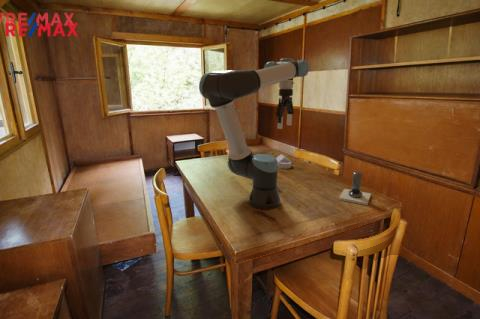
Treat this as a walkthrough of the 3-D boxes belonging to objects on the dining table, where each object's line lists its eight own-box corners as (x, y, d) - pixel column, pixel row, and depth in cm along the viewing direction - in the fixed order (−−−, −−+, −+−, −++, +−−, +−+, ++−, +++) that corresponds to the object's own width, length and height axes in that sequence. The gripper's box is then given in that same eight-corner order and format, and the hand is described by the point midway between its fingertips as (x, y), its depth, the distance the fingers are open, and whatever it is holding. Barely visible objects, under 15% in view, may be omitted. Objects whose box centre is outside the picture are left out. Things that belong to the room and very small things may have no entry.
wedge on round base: (274, 163, 194) (279, 168, 182) (275, 154, 192) (280, 159, 180) (287, 162, 195) (292, 168, 183) (287, 153, 194) (293, 158, 181)
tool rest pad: (367, 205, 128) (367, 203, 128) (338, 199, 134) (339, 197, 134) (370, 195, 139) (371, 193, 138) (344, 190, 145) (344, 188, 145)
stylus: (361, 199, 132) (363, 175, 129) (347, 196, 135) (349, 173, 132) (362, 194, 137) (365, 172, 134) (349, 192, 140) (351, 170, 137)
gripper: (283, 89, 136) (282, 131, 142) (300, 87, 157) (298, 124, 163) (270, 89, 140) (269, 129, 146) (288, 87, 160) (286, 123, 166)
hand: (284, 127), depth 154 cm, fingers open, 13 cm apart
